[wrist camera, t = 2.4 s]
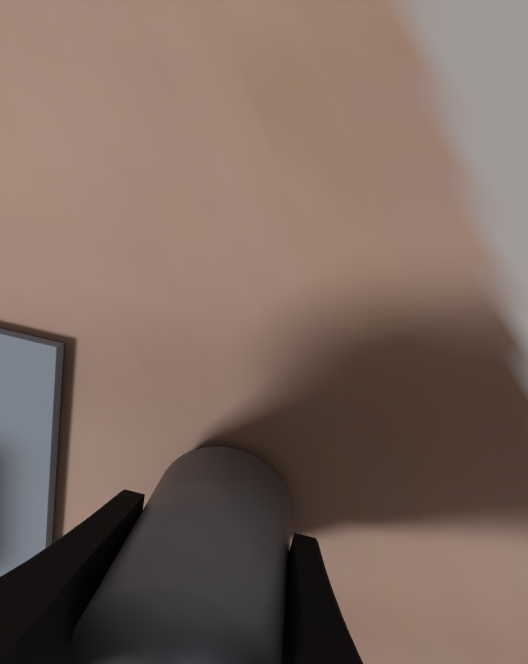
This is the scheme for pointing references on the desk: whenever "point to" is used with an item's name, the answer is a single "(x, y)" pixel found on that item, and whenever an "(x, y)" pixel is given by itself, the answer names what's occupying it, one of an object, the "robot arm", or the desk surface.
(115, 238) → the desk surface
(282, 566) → the dark grey cylinder
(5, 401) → the mat
